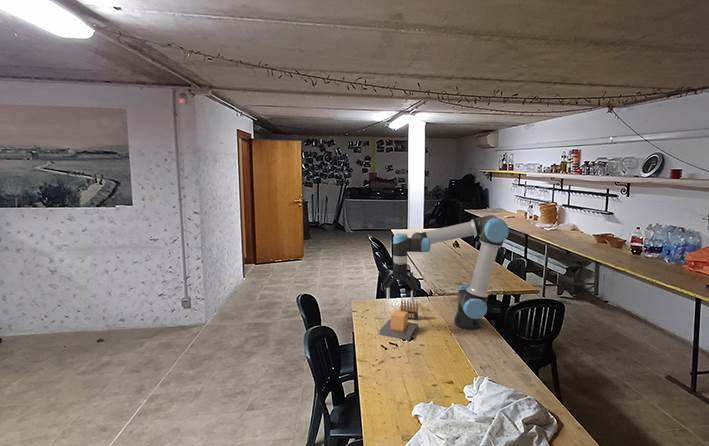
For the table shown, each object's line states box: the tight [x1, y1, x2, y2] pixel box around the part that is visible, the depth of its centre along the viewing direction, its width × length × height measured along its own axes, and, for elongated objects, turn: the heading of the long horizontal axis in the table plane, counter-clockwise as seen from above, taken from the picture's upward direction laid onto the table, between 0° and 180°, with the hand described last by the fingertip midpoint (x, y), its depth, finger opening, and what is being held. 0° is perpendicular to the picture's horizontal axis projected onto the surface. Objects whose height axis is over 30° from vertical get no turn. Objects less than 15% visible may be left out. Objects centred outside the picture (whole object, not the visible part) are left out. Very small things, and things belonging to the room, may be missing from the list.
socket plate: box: [378, 318, 419, 341], centre depth 216 cm, size 17×17×2 cm
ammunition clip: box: [399, 298, 419, 321], centre depth 233 cm, size 11×2×12 cm, turn 71°
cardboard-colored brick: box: [390, 309, 409, 332], centre depth 216 cm, size 7×8×10 cm
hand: (400, 300), depth 214 cm, fingers open, 13 cm apart
